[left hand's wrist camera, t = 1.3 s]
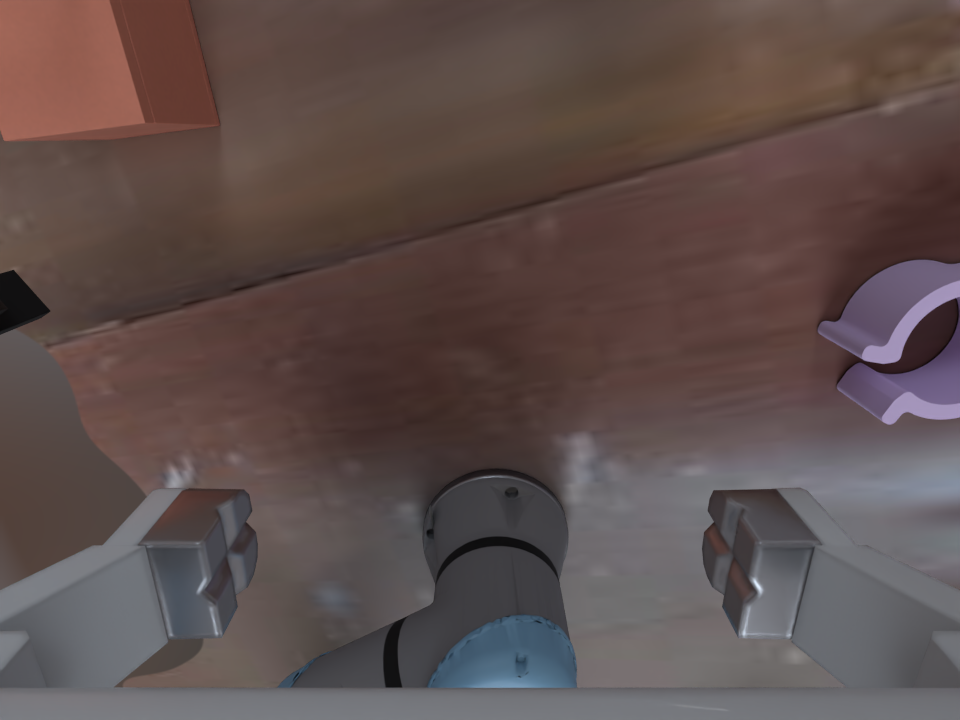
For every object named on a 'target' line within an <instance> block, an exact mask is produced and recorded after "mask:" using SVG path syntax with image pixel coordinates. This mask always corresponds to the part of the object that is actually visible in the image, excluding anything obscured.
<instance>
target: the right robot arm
mask: <svg viewBox="0 0 960 720" xmlns="http://www.w3.org/2000/svg"><path fill="white" fill-rule="evenodd" d="M49 312H50V310H49V309H48V308H47V307H46V305H45V304H44V303H43V302H42V301H41V300H40V299H39V298H38V297H37V295H36V294H35V293H34V292H33V291H32V290H31V289H30V288H29V287H28V285H27V284H26V283H25V282H24V281H23V280H22V279H21V278H20V277H19V275H18V274H17V273H16V272H15V271H14V270H12V271H8V272H5V273H1V274H0V335H1V334H3V333H5V332H8V331H10V330H13V329H15V328H18V327H20V326H23V325H25V324H27V323H30V322H32V321H35V320H37V319H40V318H42V317H43V316H44V315H46V314H47V313H49ZM423 547H424V553H425V557H426V560H427V563H428V566H429V568H430V571H431V574H432V576H433V579H434V582H435V594H434V602H433V603H432V604H431V605H429V606H428V607H425V608H423V609H421V610H419V611H417V612H415V613H413V614H411V615H409V616H407V617H405V618H403V619H401V620H398V621H396V622H394V623H392V624H389V625H387V626H385V627H383V628H381V629H379V630H377V631H374V632H372V633H370V634H368V635H366V636H364V637H362V638H359V639H357V640H355V641H353V642H351V643H349V644H347V645H344V646H342V647H340V648H338V649H336V650H334V651H329V652H327V653H324V654H321V655H320V656H319V657H317V658H314V659H313V660H311V661H310V662H309V663H307V664H306V665H305V666H304V667H302V668H300V669H299V670H297V671H295V672H293V673H292V674H291V675H289V676H288V677H287V678H286V679H284V680H283V681H282V682H281V684H280V685H279V686H278V687H277V688H577V683H576V671H577V666H576V657H575V653H574V649H573V646H572V644H571V642H570V638H569V633H568V627H567V621H566V616H565V610H564V605H563V599H562V594H561V588H560V583H559V578H560V574H561V570H562V566H563V562H564V560H565V557H566V553H567V549H568V528H567V523H566V518H565V514H564V511H563V509H562V507H561V504H560V503H559V501H558V499H557V498H556V497H555V495H554V494H553V493H552V492H551V491H550V490H549V489H548V488H547V487H546V486H544V485H543V484H542V483H540V482H539V481H537V480H535V479H534V478H531V477H529V476H527V475H524V474H521V473H518V472H514V471H509V470H499V469H498V470H483V471H477V472H474V473H470V474H467V475H465V476H462V477H460V478H458V479H456V480H454V481H453V482H451V483H450V484H448V485H447V486H446V487H445V488H443V489H442V490H441V491H440V492H439V493H438V494H437V496H436V497H435V498H434V500H433V501H432V503H431V504H430V506H429V508H428V511H427V513H426V517H425V521H424V528H423Z"/></svg>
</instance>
